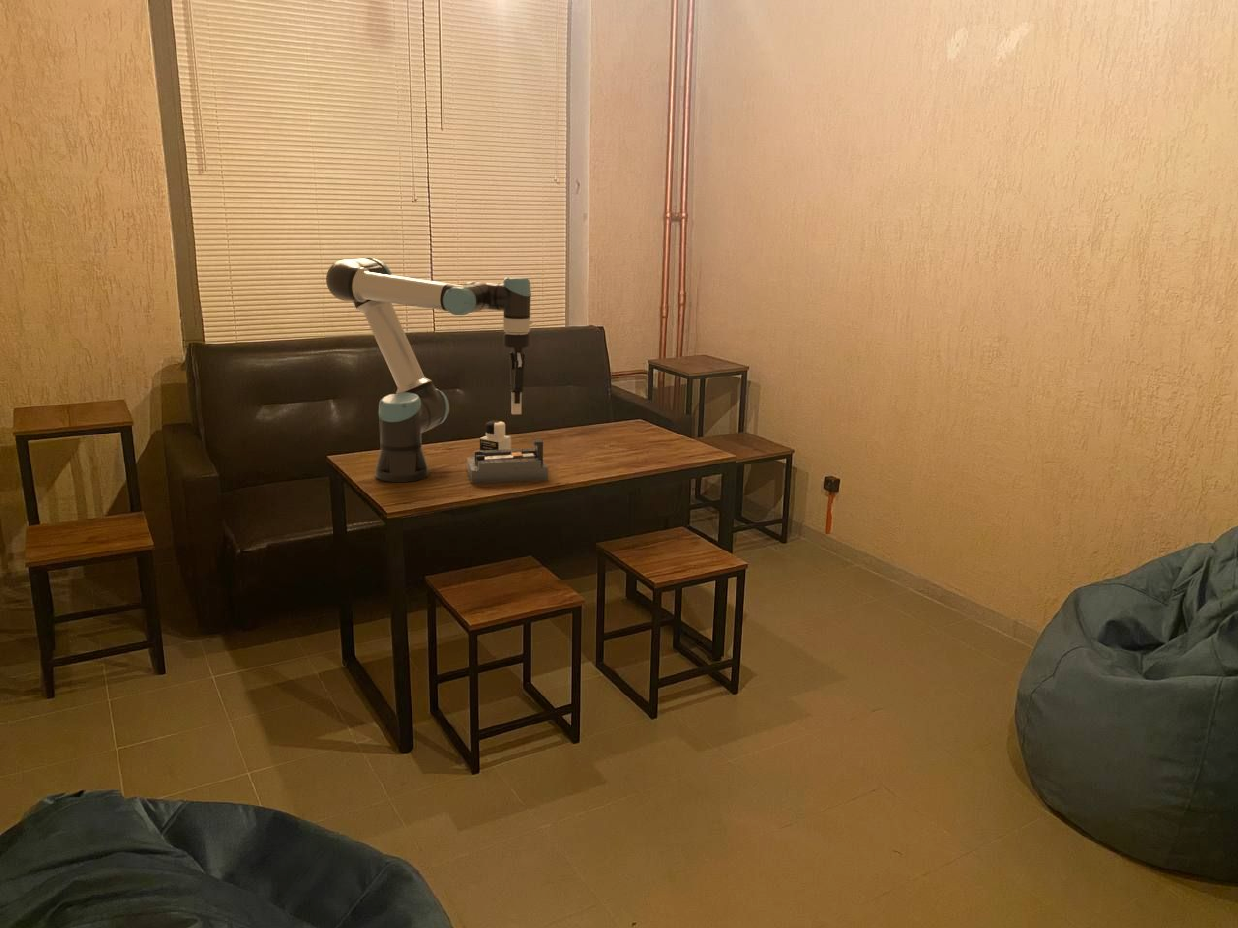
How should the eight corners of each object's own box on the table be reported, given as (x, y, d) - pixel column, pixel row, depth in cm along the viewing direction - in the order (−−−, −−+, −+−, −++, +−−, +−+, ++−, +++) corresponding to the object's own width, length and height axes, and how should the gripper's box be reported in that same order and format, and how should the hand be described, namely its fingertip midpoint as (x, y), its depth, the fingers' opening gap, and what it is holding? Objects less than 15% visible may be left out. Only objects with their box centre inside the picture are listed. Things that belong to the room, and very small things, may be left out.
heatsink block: (472, 484, 256) (471, 448, 253) (467, 470, 269) (466, 436, 266) (547, 480, 262) (548, 445, 259) (539, 466, 275) (539, 433, 272)
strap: (477, 464, 260) (477, 458, 260) (476, 461, 264) (475, 454, 263) (534, 460, 264) (534, 454, 264) (532, 457, 268) (532, 450, 267)
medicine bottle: (479, 459, 280) (479, 422, 277) (492, 454, 286) (492, 418, 283) (498, 463, 277) (498, 425, 274) (511, 458, 283) (511, 421, 280)
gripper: (533, 336, 249) (532, 418, 256) (526, 329, 261) (525, 408, 268) (506, 336, 247) (506, 419, 254) (500, 329, 259) (500, 409, 266)
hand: (516, 413), depth 261 cm, fingers closed
